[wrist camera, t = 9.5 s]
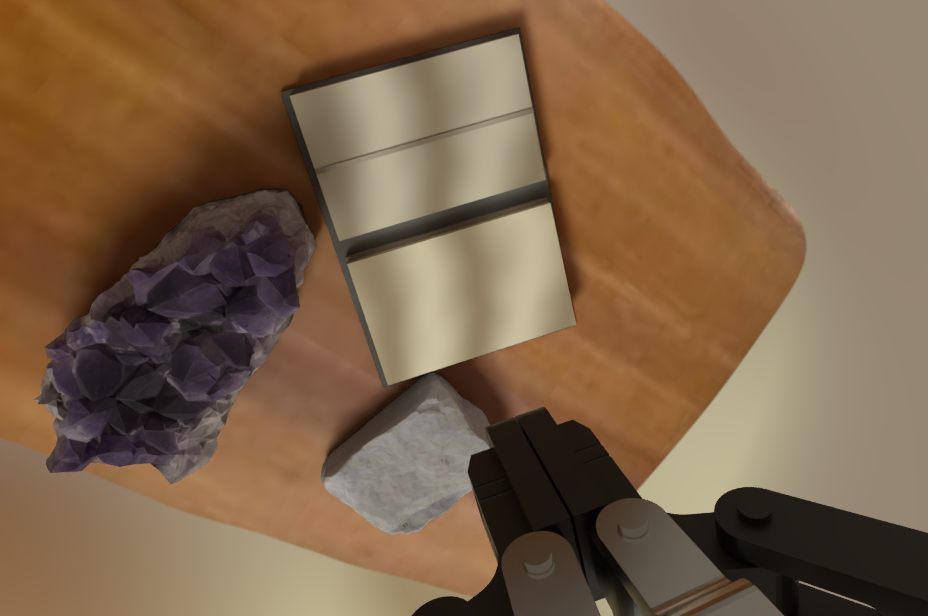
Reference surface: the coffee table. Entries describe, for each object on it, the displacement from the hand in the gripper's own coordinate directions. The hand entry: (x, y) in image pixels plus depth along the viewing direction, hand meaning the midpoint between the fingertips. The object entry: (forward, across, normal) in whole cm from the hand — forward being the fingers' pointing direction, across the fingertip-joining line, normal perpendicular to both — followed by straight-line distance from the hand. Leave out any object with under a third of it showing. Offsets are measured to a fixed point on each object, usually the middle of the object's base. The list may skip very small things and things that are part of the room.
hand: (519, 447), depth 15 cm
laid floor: (+28, -3, +3) cm, 29 cm away
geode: (+29, +14, +3) cm, 32 cm away
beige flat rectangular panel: (+28, -3, +7) cm, 29 cm away
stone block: (+29, +3, +20) cm, 35 cm away
